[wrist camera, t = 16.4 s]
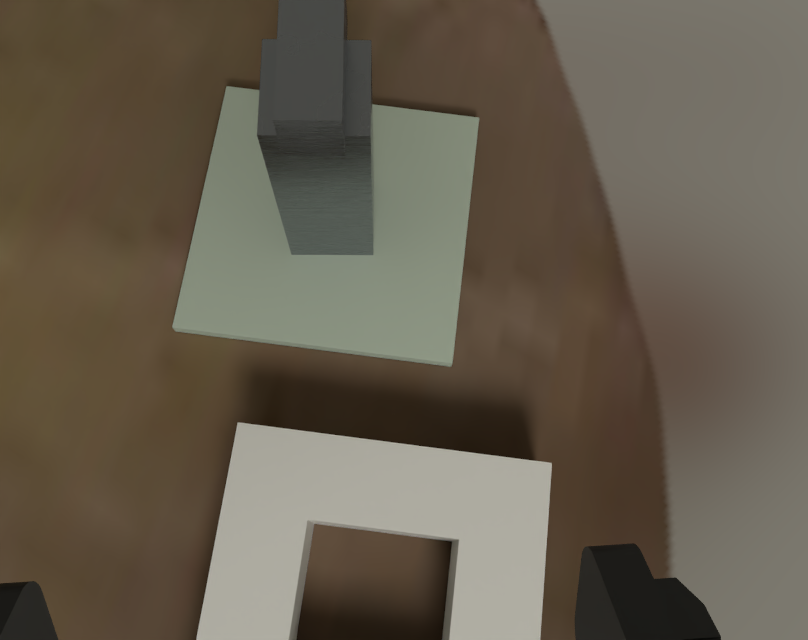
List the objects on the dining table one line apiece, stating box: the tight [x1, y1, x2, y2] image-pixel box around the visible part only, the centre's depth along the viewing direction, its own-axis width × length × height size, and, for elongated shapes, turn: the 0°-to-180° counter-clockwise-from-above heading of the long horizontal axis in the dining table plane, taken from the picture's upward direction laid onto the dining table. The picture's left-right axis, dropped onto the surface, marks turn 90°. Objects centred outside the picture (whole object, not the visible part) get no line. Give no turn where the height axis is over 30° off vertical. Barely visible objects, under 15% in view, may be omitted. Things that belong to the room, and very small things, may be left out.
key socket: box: [196, 422, 552, 640], centre depth 29 cm, size 12×12×3 cm
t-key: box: [257, 0, 374, 255], centre depth 29 cm, size 4×5×12 cm
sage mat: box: [172, 86, 479, 367], centre depth 35 cm, size 12×12×1 cm
